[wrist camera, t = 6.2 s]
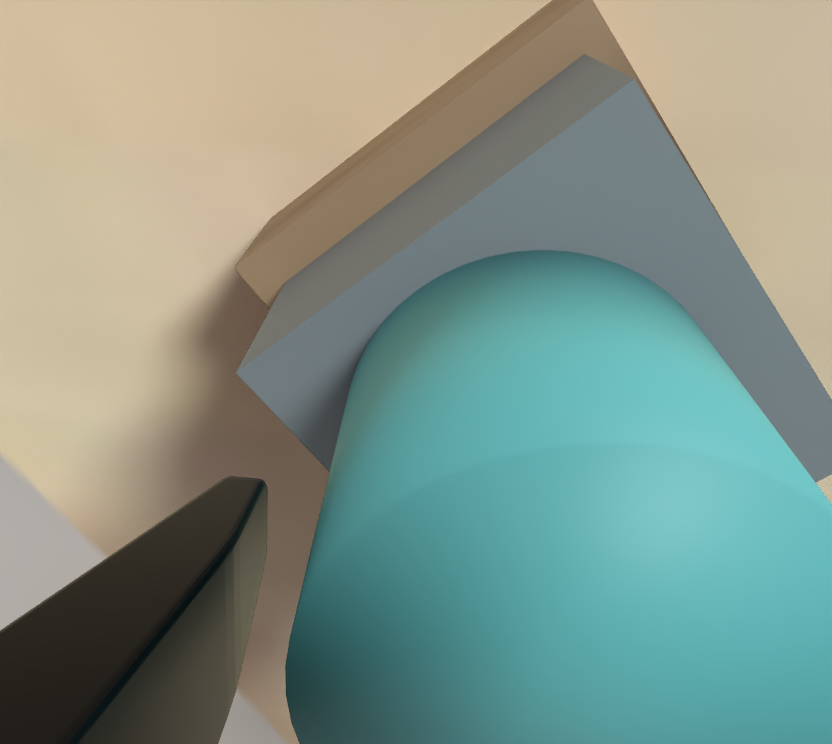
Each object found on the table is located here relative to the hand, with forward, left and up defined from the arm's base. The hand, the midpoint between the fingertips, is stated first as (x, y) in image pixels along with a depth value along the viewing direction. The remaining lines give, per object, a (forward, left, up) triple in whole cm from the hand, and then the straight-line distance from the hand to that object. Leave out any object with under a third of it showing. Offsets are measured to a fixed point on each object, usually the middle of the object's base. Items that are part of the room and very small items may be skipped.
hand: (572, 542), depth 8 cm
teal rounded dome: (0, 0, -2) cm, 2 cm away
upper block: (0, 0, -6) cm, 6 cm away
